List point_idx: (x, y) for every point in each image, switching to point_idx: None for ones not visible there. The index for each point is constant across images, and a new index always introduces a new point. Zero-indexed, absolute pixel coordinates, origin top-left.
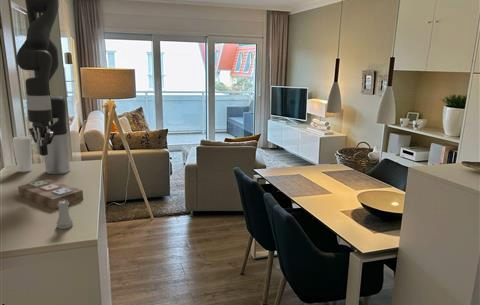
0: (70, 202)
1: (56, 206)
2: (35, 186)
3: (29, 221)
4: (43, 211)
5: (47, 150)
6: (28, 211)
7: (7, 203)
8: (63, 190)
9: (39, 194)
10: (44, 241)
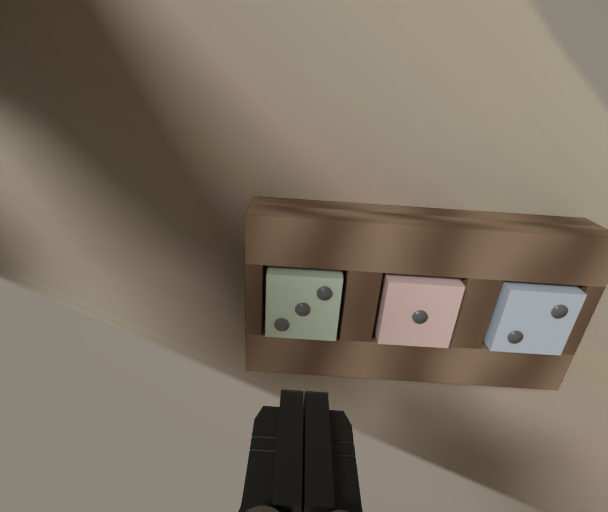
0: None
1: None
2: (327, 337)
3: (530, 444)
4: None
5: (353, 448)
6: (452, 406)
7: None
8: (538, 315)
9: (444, 382)
10: None
